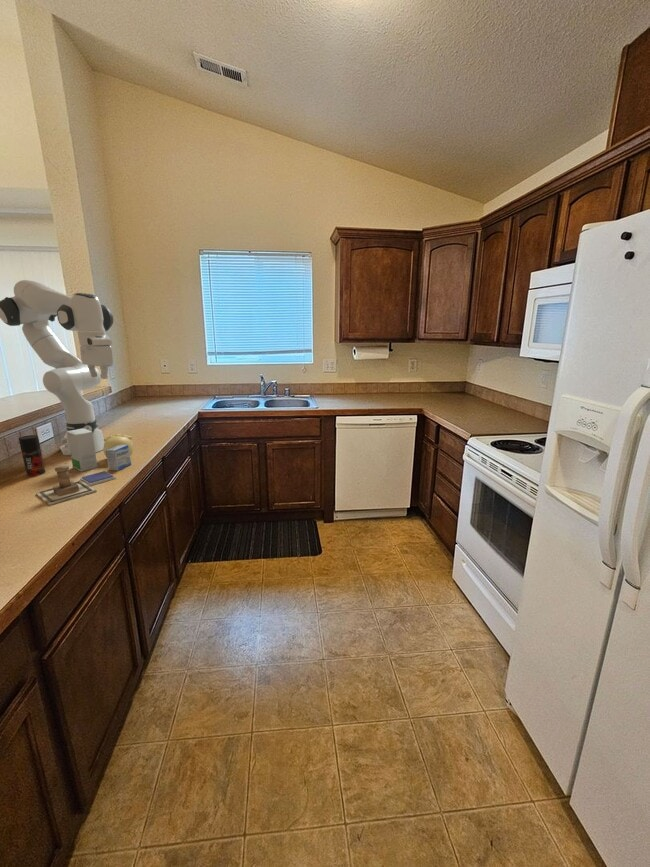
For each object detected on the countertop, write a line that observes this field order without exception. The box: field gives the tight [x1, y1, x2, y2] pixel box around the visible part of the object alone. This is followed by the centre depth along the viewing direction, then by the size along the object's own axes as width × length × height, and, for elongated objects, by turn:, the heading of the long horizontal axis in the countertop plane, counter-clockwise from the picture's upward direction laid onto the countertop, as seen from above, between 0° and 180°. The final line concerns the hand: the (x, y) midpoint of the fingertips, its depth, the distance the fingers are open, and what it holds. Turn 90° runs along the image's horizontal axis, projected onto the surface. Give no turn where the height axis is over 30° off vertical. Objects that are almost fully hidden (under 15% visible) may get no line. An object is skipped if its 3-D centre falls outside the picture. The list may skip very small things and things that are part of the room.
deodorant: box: [18, 434, 46, 477], centre depth 149 cm, size 6×6×15 cm
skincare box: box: [66, 428, 98, 472], centre depth 155 cm, size 8×7×16 cm
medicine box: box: [105, 445, 132, 472], centre depth 156 cm, size 8×4×9 cm, turn 168°
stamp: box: [52, 465, 79, 496], centre depth 131 cm, size 6×6×9 cm
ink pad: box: [79, 470, 117, 487], centre depth 144 cm, size 9×9×1 cm
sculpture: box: [103, 433, 134, 458], centre depth 166 cm, size 12×12×11 cm
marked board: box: [35, 480, 97, 507], centre depth 132 cm, size 14×14×1 cm
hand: (99, 377), depth 143 cm, fingers open, 8 cm apart
